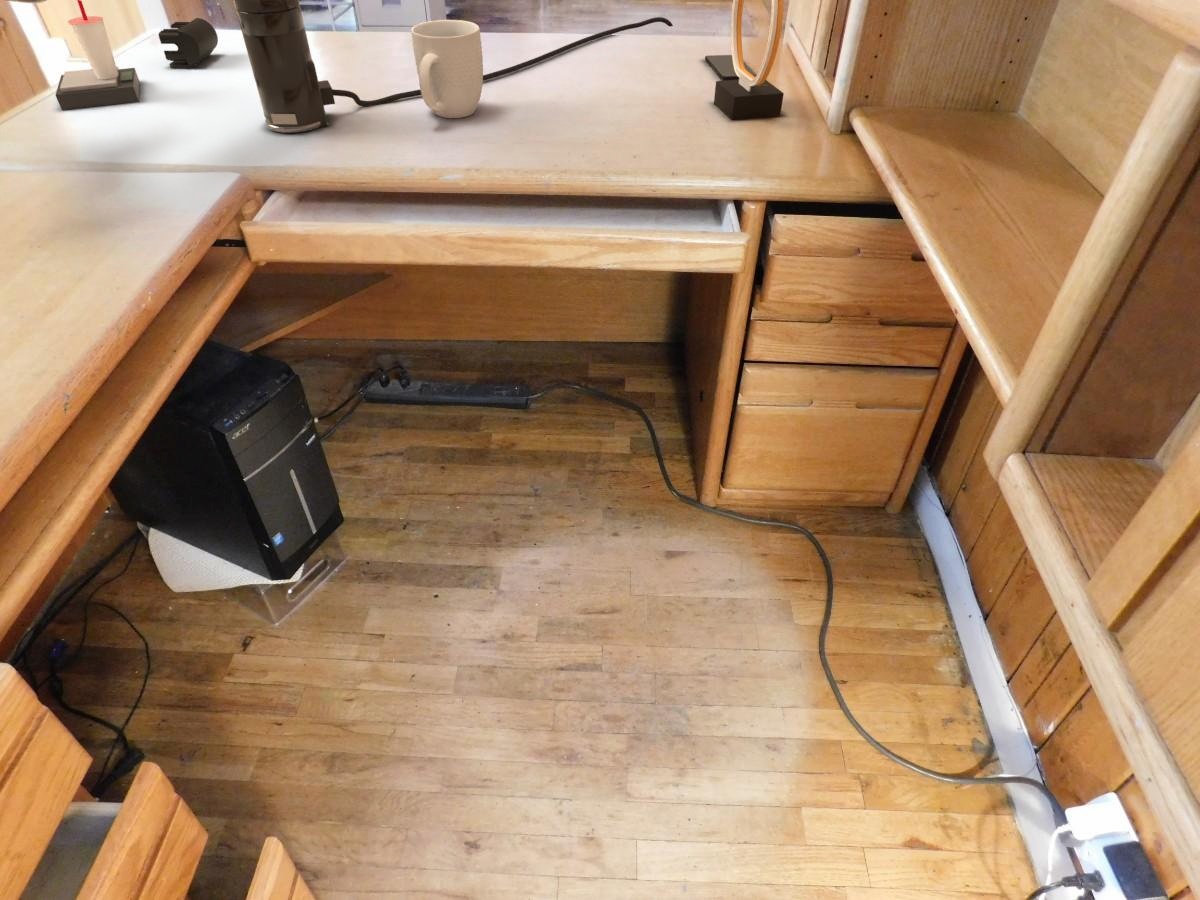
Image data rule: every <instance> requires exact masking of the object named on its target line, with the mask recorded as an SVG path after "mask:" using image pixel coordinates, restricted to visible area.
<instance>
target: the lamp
mask: <svg viewBox="0 0 1200 900" xmlns="http://www.w3.org/2000/svg"><path fill="white" fill-rule="evenodd" d="M744 2H745V0H732V6H731V16H730V17H731V18H730V46H731V55H732V59H733V66H734V70H735V73H736V74H737V76H738V77H739V80H726V81H723V80H716V81H715V87H714V97H713V99H714V100H713V104H714V105H715V107H717V109H719V110H720V111H721V112H722V113H723V114H724V115H726V116H727V118H729V119H730V120H731V121H739V120H749V119H752V120H753V119H765V118H774V117H776V118H777V117H781V113H782V106H783V100H784V94H785V93H784V92H783V91H781V90H780V89H779V88H777V87H776V86H775V85H773V84H772V83H771V82H769V81H768V80H767V78H768V77H769V75H770V72H771V70H772V68H773V65H774V62H775V59H776V56H777V53H778V48H779V44H780V39H781V33H782V28H783V27H782V26H783V18H784V0H771V11H770V24H769V32H768V38H767V43H766V48H765V51H764V55H763V58H762V61H761V64H760V66H759V69H758V70H757V73H756V77H754V76H753V75H752V74H750V73H749V72H748V71H747V70H746V69H745V67H744V62H745V61H744V56H743V41H742V40H743V39H742V37H743V36H742V25H743V24H742V23H743V8H744ZM743 61H744V62H743Z"/></svg>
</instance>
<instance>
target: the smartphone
mask: <svg viewBox="0 0 1200 900" xmlns="http://www.w3.org/2000/svg"><path fill="white" fill-rule="evenodd" d="M704 60H705V61H706V63H708V65H709V66H710V67H711V68H712V70H713V71H714V72H715V73H716V74H717V76H718V77H719V78H720V80H721V81H726V80H739V77H738V76H737V74H736V73H735V70H734V66H733V59H732V54H717V55H716V54H715V55H714V54H713V55H712V54H711V55H705V56H704ZM743 62H744V67H745V69H746V70H747V71H748V72H749V73H750V74H752V75H753V76H754V77H756V75H757V73H756V72H754V70H753V69H752V68H751V67H750V66H749V65H748V64H747V63H746V62H745V61H744V60H743Z"/></svg>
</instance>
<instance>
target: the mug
mask: <svg viewBox="0 0 1200 900" xmlns="http://www.w3.org/2000/svg"><path fill="white" fill-rule="evenodd" d="M410 29H411V40H412V47H413V55H414V61H415V66H416V72H417V76H418V83H419V84H418V85H419V90H421V94H422V95H421V97H422V100H423V102H424V103H425V105H426V106H427V107H428V108H429V109H431V110H432V111H433V112H434V113H435V114H436V115H437V116H439V117H441V118H445V119H462V118H467V117H469V116H472V115H473V114H474V113H475V112H476V109H477V108H478V105H479V103H480V99H481V96H482V92H483V91H482V90H483V85H484V81H483V75H484V64H483V63H484V59H483V58H484V57H483V47H482V40H481V39H482V38H481V29H480V26H479V25H478V24H476V23H474V22H473V21H467V20H463V19H462V20H460V19H438V20H430V21H429V20H428V21H424V22H420V23H418V24H415V25H414V26H412V27H411V28H410Z"/></svg>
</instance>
